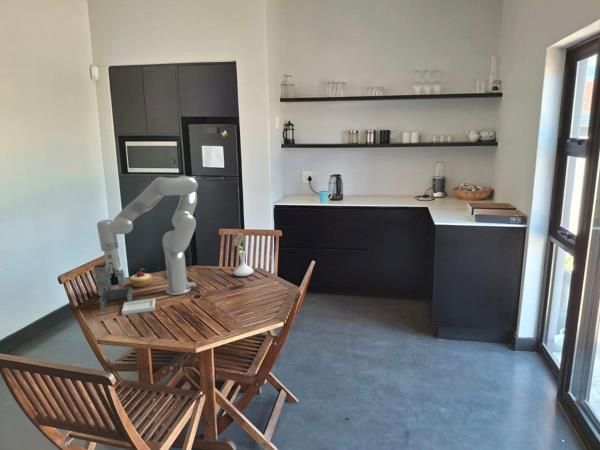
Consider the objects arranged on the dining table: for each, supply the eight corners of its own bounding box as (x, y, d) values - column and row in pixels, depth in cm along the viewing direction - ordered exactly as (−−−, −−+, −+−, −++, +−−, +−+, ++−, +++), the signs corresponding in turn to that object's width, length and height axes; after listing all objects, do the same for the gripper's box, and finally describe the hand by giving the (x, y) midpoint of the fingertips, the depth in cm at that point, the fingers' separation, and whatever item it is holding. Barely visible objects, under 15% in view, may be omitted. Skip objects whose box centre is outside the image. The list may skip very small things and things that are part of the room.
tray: (155, 302, 217) (155, 298, 217) (154, 311, 206) (154, 306, 205) (124, 306, 213) (124, 302, 213) (122, 315, 202) (121, 311, 202)
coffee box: (108, 289, 239) (104, 260, 235) (119, 290, 237) (115, 260, 234) (97, 295, 230) (93, 265, 227) (109, 296, 228) (104, 266, 225)
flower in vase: (232, 273, 258) (229, 230, 253) (252, 270, 260) (249, 228, 255) (234, 279, 245) (231, 235, 240) (255, 277, 248) (252, 233, 243)
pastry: (125, 288, 241) (123, 272, 239) (141, 281, 252) (138, 265, 250) (143, 289, 237) (140, 273, 235) (158, 282, 247) (155, 266, 245)
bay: (133, 296, 227) (131, 286, 226) (130, 305, 214) (129, 295, 213) (104, 300, 223) (103, 290, 222) (100, 309, 210) (99, 299, 209)
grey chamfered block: (125, 281, 218) (123, 269, 217) (124, 284, 213) (122, 272, 212) (107, 284, 216) (105, 272, 215) (106, 287, 211) (104, 275, 210)
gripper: (115, 249, 203) (122, 287, 207) (119, 241, 219) (125, 276, 223) (98, 251, 201) (105, 289, 205) (103, 243, 218) (109, 278, 222)
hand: (115, 282), depth 214 cm, fingers closed on grey chamfered block, 5 cm apart
